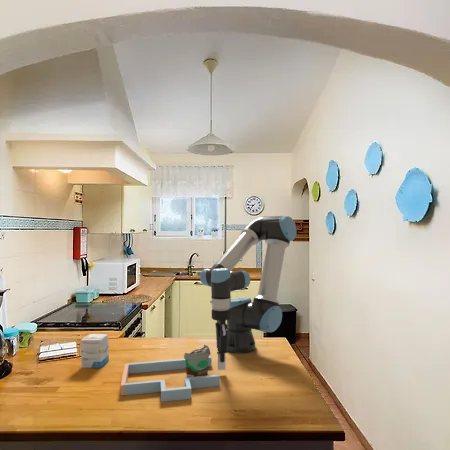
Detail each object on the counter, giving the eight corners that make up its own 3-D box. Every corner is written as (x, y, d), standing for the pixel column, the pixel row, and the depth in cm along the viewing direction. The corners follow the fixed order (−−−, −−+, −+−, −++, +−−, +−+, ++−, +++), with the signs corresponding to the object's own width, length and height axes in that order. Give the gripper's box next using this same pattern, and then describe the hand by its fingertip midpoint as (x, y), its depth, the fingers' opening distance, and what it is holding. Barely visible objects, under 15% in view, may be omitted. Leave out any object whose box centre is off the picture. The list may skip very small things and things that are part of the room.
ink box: (109, 360, 157) (109, 333, 157) (100, 368, 148) (100, 339, 148) (90, 360, 157) (90, 333, 157) (80, 367, 149) (80, 339, 149)
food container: (196, 383, 133) (195, 356, 133) (184, 379, 136) (183, 353, 136) (217, 372, 142) (216, 347, 142) (205, 369, 146) (204, 344, 146)
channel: (211, 364, 150) (210, 356, 150) (223, 395, 123) (223, 385, 123) (125, 372, 143) (125, 363, 143) (118, 406, 117) (118, 395, 117)
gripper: (209, 305, 147) (209, 363, 147) (214, 313, 134) (215, 376, 134) (227, 304, 148) (227, 362, 148) (234, 311, 135) (234, 375, 135)
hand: (221, 369), depth 141 cm, fingers closed
